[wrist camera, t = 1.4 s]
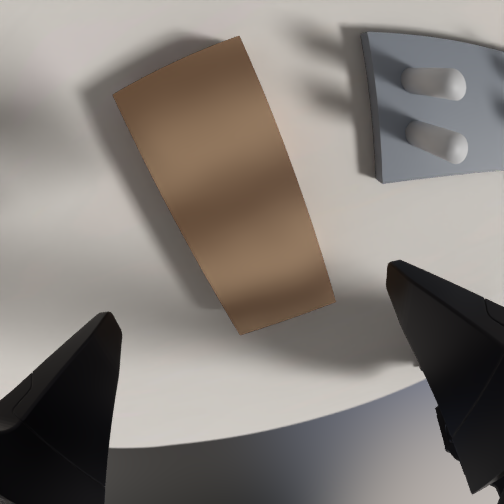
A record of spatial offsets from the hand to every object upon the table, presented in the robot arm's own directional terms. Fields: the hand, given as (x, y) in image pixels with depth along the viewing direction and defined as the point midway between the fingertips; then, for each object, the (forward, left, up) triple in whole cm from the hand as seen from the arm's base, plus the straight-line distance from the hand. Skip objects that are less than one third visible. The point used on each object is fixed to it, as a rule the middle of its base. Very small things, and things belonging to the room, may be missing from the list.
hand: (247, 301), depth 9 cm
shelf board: (0, 0, -10) cm, 10 cm away
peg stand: (+4, -17, -10) cm, 20 cm away
